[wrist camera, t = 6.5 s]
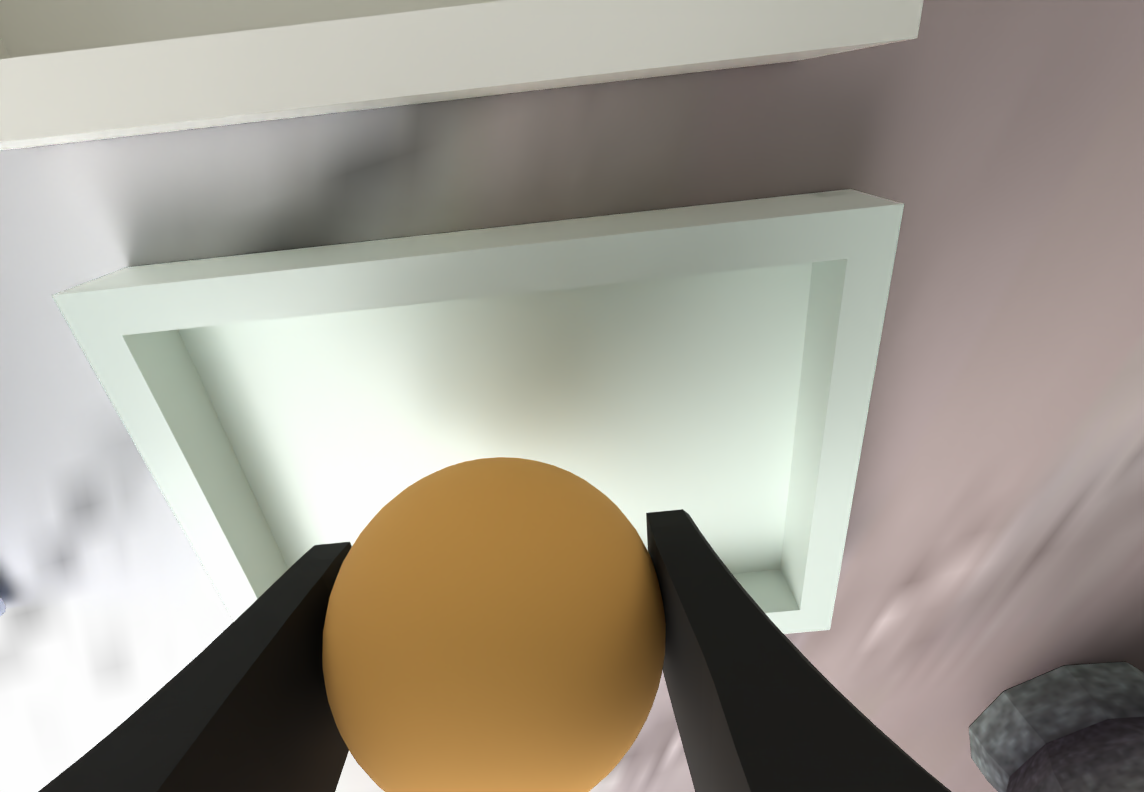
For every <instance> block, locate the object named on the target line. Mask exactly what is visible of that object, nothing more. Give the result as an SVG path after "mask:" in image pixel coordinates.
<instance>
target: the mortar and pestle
mask: <svg viewBox="0 0 1144 792" xmlns="http://www.w3.org/2000/svg"><path fill="white" fill-rule="evenodd" d="M969 735H970V747H971V758H972V759H973V761H974V762H975V764H976V765H977V766H978V768H979V769H980V771H981V772H982V774H983V775H984V776H985V778H986V779H987V781H988V782H989V783H990V784H991V785H992V786H993V787H994V788H995V789H996V790H997V791H998V792H1144V672H1142V671H1140V670H1139V669H1137V668H1135V667H1134V666H1132V665H1130V664H1129V663H1127V662H1114V663H1098V664H1082V665H1066V666H1062V667H1060V668H1057V669H1055V670H1053V671H1050V672H1048V673H1046V674H1043V675H1041V676H1039V677H1036V678H1034V679H1032V680H1029V681H1027V682H1025V683H1022V684H1020V685H1018V686H1015V687H1013V688H1011V689H1008V690H1006V691H1004V692H1002V693H1001V695H1000V696H999V697H998V698H997V699H996V700H995V701H994V702H993V703H992V704H991V705H990V706H989V707H988V708H987V709H986V710H985V711H984V712H983V713H982V714H981V715H980V716H979V717H978V718H977V719H976V720H975V721H974V723H973V724H972V725H971V726H970V727H969Z"/></svg>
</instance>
